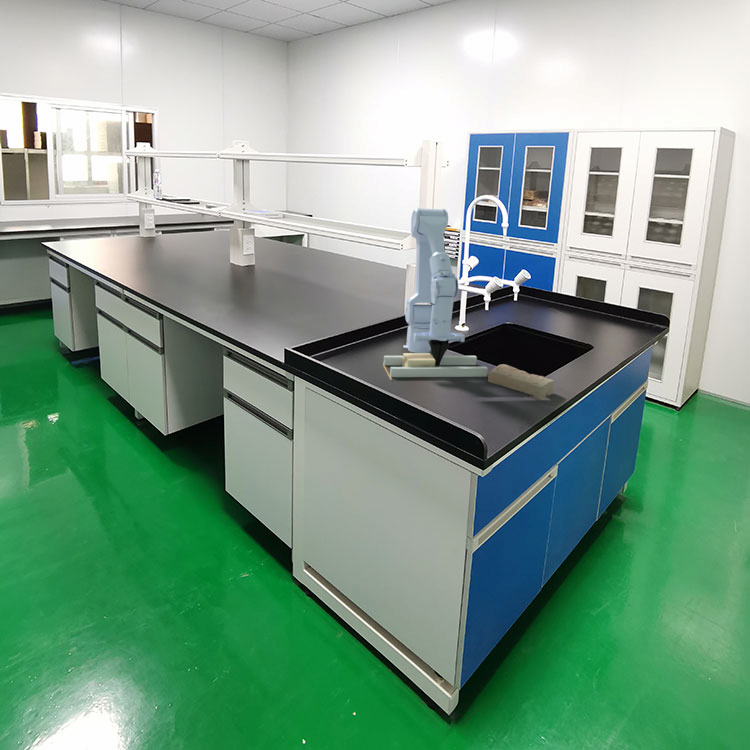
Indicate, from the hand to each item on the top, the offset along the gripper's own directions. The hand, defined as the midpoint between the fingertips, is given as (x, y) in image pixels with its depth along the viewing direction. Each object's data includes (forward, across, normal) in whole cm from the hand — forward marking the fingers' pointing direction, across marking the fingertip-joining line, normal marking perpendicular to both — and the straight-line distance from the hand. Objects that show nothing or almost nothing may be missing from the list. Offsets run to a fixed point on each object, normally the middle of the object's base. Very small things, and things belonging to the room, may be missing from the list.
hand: (436, 364), depth 173 cm
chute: (+2, 0, 0) cm, 2 cm away
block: (+2, -5, 0) cm, 6 cm away
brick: (+3, +21, -13) cm, 24 cm away
